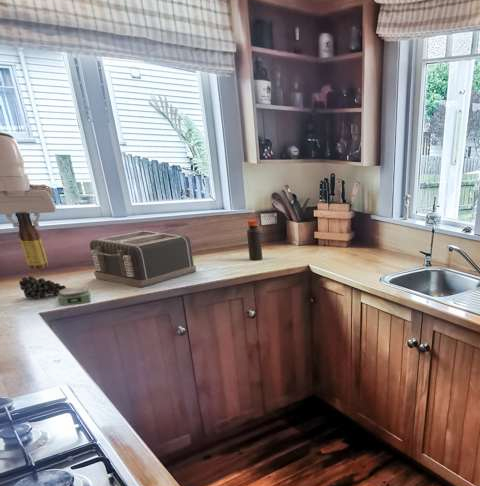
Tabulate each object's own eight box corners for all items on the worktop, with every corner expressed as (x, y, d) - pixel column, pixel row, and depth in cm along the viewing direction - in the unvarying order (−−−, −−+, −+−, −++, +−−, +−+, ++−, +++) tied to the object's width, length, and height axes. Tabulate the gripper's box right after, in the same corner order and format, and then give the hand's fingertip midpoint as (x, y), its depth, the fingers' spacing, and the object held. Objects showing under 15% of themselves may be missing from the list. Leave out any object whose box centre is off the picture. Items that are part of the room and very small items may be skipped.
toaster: (85, 280, 206) (75, 241, 199) (151, 263, 235) (145, 228, 228) (133, 290, 195) (124, 249, 187) (196, 271, 224) (191, 235, 216)
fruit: (62, 270, 187) (16, 273, 180) (63, 281, 182) (16, 285, 175) (66, 288, 192) (22, 292, 185) (68, 300, 187) (22, 304, 180)
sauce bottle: (38, 265, 172) (22, 209, 164) (53, 266, 172) (38, 210, 163) (23, 269, 166) (6, 212, 158) (39, 270, 166) (23, 213, 157)
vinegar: (264, 258, 252) (261, 220, 243) (259, 261, 246) (255, 222, 237) (253, 257, 253) (249, 219, 245) (247, 260, 247) (243, 221, 239)
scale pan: (58, 296, 175) (58, 294, 175) (60, 290, 183) (59, 288, 182) (87, 293, 179) (86, 291, 179) (87, 287, 187) (87, 285, 186)
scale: (60, 306, 176) (57, 298, 174) (61, 298, 184) (59, 290, 183) (90, 302, 180) (88, 295, 179) (90, 295, 188) (89, 287, 187)
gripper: (51, 183, 164) (61, 223, 170) (-21, 184, 155) (-8, 227, 161) (49, 185, 159) (60, 226, 165) (-26, 186, 150) (-11, 230, 156)
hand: (26, 226), depth 163 cm, fingers closed on sauce bottle, 4 cm apart
